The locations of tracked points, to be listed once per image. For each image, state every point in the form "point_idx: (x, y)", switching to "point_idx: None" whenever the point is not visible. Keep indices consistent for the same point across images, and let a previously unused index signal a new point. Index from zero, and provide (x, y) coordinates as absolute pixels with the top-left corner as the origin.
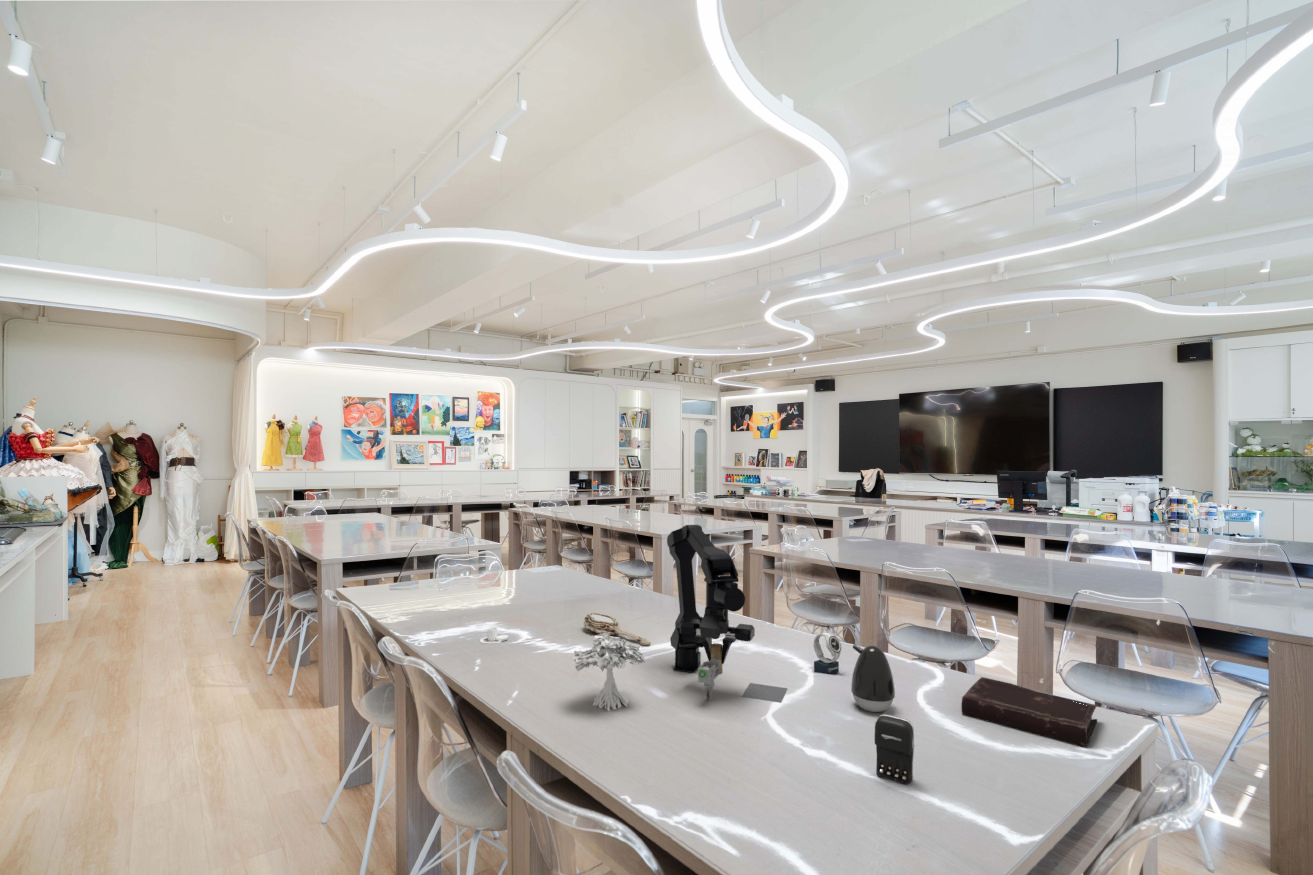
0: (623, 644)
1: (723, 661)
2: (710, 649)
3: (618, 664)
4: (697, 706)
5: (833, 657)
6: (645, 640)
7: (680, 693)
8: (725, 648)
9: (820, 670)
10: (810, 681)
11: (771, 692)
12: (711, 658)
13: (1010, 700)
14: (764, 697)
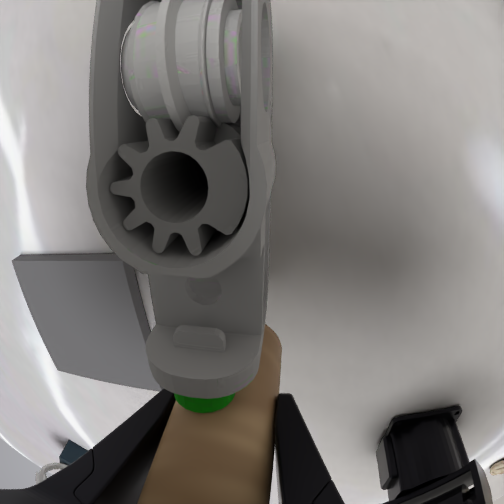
0: None
1: (156, 396)
2: (279, 494)
3: None
4: (293, 86)
5: (45, 467)
6: (501, 469)
7: (425, 218)
8: (76, 477)
9: (79, 454)
10: (72, 421)
11: (66, 331)
12: (260, 412)
13: None
14: (58, 283)
